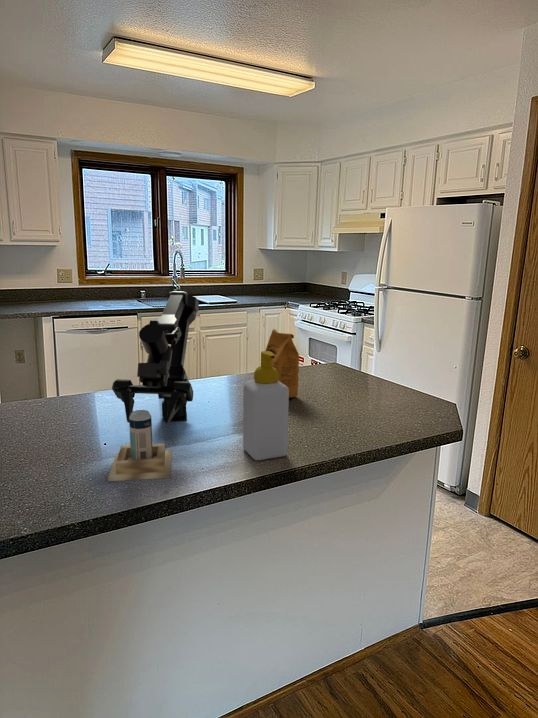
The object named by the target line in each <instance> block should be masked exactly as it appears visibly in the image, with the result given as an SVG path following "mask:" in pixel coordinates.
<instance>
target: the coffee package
mask: <svg viewBox="0 0 538 718" xmlns="http://www.w3.org/2000/svg"><path fill="white" fill-rule="evenodd" d="M294 336H295V335H294V334H293V333H285V332H284V333H283V332H279V331H278V330H276V329H275V328H273V329H272V331H271V334H270V336H269V339H268V341H267V345H266V347H265V351H270V352H272V353H273V354H274V355H275V359H272V367H274V368H275V369H276V370H277V371H278V381H279V382H281V383H282V384H284V385H286V386H287V387H288V389H289V399H290V398H294V397H298V396H299V392H298V390H299V379H300V378H299V371H300V370H299V368H300V366H299V364H300V355H299V352H298V350H297V347H296V346H295V343H294V341H293V339H294V338H295V337H294Z"/></svg>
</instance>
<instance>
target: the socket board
mask: <svg viewBox="0 0 538 718" xmlns="http://www.w3.org/2000/svg"><path fill="white" fill-rule="evenodd" d="M152 446H153V459H140V460H131V446H130V444H125V445H123V444H121V446H120V448H119V452H115V456H114V459H113V462H112V464H111V467H110V470H109V474H108V477H107V482H122V481H138V480H139V481H140V480H155V479H156V480H157V479H158V480H159V479H171V473H172V459H173V458H172V457H173V450H166V443H164V442H163V443H152Z"/></svg>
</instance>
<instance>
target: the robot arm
mask: <svg viewBox="0 0 538 718" xmlns="http://www.w3.org/2000/svg"><path fill="white" fill-rule="evenodd" d="M199 310H200V303H199V300H198V298H197V297H196V296H193V295H191V294H189V293H188V292H186V291H182V290H180V291H179V290H178V291H177V290H176V291H175V290H172V291H169V293H168V300H167V302H166V304H165V306H164V309H163V311H162V313H161V315H160V316H158V317H156V318H154V319H153V320H150V321H149V323H148V324H146V325H144V326H143V327H141V329H140V330H139V332H138V336H139V337H138V338H139V339H140V341H141V344H142V346H143V349H144V351H145V352H146V353H147V354H148V356H147V361H146V362H138V364H137V372H136V374H137V375H136V377H137V378H139V382H140V383H141V384H142V385H139V384H138V385H135V384H133V382H132V380H131V379H122V378H121V379H119V378H118V379H115V380H114V381H113V382H112V386H111V390H112V392H113V393H114V394H115V396H116V398H117V399H119V400H121V402H122V403H123V405H124V409H125V410H124V411H125V418H126V422H127V423H129V417H130V415H131V413H132V412H133V411H134V405H135V400H134V398H135V395H136V394H141V395H142V394H145V395H146V394H148V395H149V394H150V395H157V396H158V399H163V400H162V402H161V411H162V412H161V414H162V415H161V417H162V418H163V421H164V422H165V423H166V425H169V424H170V422H175V421H187V420H188V415H187V414H188V413H187V404H188V402H192V401H193V400H194V389H193V386H192V384H191V382H190V380H189V377H188V375H187V373H186V370H185V368H184V366H185V360H186V359H185V357H186V354H187V353H186V351H187V345H188V337H189V330H190V329H189V328H190V325H192V324H193V322H194V321H195V320H196V318H197V313H199Z"/></svg>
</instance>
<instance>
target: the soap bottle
mask: <svg viewBox="0 0 538 718" xmlns="http://www.w3.org/2000/svg"><path fill="white" fill-rule="evenodd" d="M272 359H275V355H274V354H273V353H272V352H270V351H266V350H264V351H260V366H258V367H256V368H255V371H254V373H253V379H249V380H248V381H246V382H244V383H243V388H242V389H243V397H242V398H243V402H242V403H243V405H242V406H243V408H242V409H243V410H242V411H243V414H242V415H243V416H242V417H243V419H242V422H243V423H242V426H243V427H242V428H243V429H242V431H243V432H242V436H243V437H242V438H243V439H242V448H243V450H244V451H245V452H246V453H247V454H248V455H250V458H252V459H253V460H254V461H264V460H269V459H270V460H271V459H277V458H283V457H285V456H287V455H288V437H289V436H288V435H289V433H288V432H289V404H290V403H289V399H290V398H289V389H288V387H287V386H286V385H284V384H282V383H281V382H279V381H278V371H277V370H276V369H275V368H274V367H272Z"/></svg>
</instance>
